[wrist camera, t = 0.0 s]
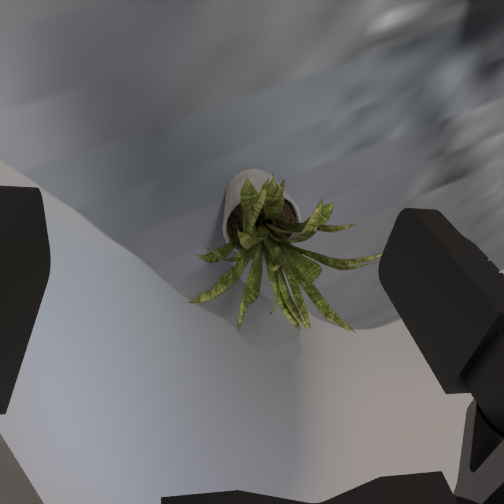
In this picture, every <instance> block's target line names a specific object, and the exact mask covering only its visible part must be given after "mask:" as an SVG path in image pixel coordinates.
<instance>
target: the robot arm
mask: <svg viewBox="0 0 504 504" xmlns="http://www.w3.org/2000/svg"><path fill="white" fill-rule="evenodd" d="M50 260H51V259H50V246H49V240H48V233H47V227H46V220H45V213H44V206H43V200H42V195H41V192H40V190H39V188H34V187H16V186H15V187H14V186H0V414H6V411H7V408H8V405H9V402H10V399H11V396H12V392H13V389H14V386H15V383H16V380H17V377H18V374H19V370H20V367H21V364H22V361H23V358H24V354H25V352H26V348H27V345H28V342H29V339H30V336H31V333H32V329H33V326H34V323H35V320H36V317H37V314H38V311H39V307H40V304H41V301H42V298H43V295H44V291H45V289H46V285H47V282H48V279H49V274H50V263H51V262H50ZM379 279H380V282H381V284H382V286H383V288H384V290H385V291H386V293H387V295H388V296H389V298H390V300H391V302H392V303H393V305H394V307H395V308H396V310H397V312H398V313H399V315H400V317H401V319H402V320H403V322H404V323H405V325H406V327H407V329H408V330H409V332H410V334H411V335H412V337H413V339H414V340H415V342H416V344H417V346H418V347H419V349H420V351H421V352H422V354H423V356H424V357H425V359H426V361H427V363H428V364H429V366H430V368H431V369H432V371H433V373H434V374H435V376H436V378H437V380H438V381H439V383H440V385H441V386H442V388H443V390H444V391H445V393H446V394H456V393H471V394H472V396H473V397H474V399H473V401H472V402H471V403H470V405H469V406H468V408H467V412H466V419H465V427H464V435H463V443H462V450H461V458H460V466H459V473H458V480H457V484H456V488H455V490H454V493H452V491H451V489H450V487H449V485H448V483H447V481H446V479H445V477H444V475H443V473H442V472H441V471H439V472H428V473H418V474H408V475H396V476H386V477H379V478H377V479H374V480H372V481H370V482H367V483H365V484H363V485H361V486H358V487H356V488H354V489H352V490H349V491H347V492H345V493H342V494H340V495H338V496H335V497H333V498H331V499H329V500H326V501H324V502H321V503H306V502H300V501H295V500H289V499H283V498H278V497H273V496H267V495H262V494H256V493H250V492H245V491H239V490H235V491H224V492H214V493H203V494H192V495H181V496H171V497H162V498H161V504H504V274H503V273H499V269H498V268H497V267H496V266H495V265H494V264H493V263H492V262H491V261H488V257H487V256H486V255H485V254H484V253H483V252H482V251H481V250H480V249H479V248H478V247H477V246H476V245H475V244H474V243H473V242H471V241H470V240H468V239H467V238H465V237H464V236H462V235H461V234H460V233H459V232H458V231H457V230H456V228H455V227H454V226H453V225H452V224H451V223H450V222H449V221H448V220H447V219H446V218H445V217H444V216H443V215H442V213H441V212H439V211H438V210H434V209H416V208H405V209H403V210H402V211H401V212H400V213H399V215H398V217H397V219H396V222H395V224H394V227H393V229H392V232H391V234H390V237H389V239H388V241H387V244H386V246H385V249H384V251H383V254H382V256H381V259H380V262H379ZM0 504H44V503H43V502H42V500H41V499H40V497H39V496H38V494H37V492H36V491H35V489H34V487H33V486H32V484H31V482H30V481H29V479H28V478H27V476H26V474H25V473H24V471H23V470H22V468H21V466H20V465H19V463H18V461H17V460H16V458H15V457H14V455H13V453H12V452H11V450H10V449H9V447H8V445H7V444H6V442H5V440H4V439H3V437H2V436H1V434H0Z"/></svg>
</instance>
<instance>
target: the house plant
mask: <svg viewBox="0 0 504 504" xmlns="http://www.w3.org/2000/svg"><path fill="white" fill-rule="evenodd" d="M284 188H285V183H284V181H283V182H282V184H281V185H280V184H279V183H278V182H277V181H276V180H275V179H274V176H273V174H272V175H271V174H269V173H268V172H267V171H264V170H262V169H256V168H252V169H246V170H243V171H240V172H239V173H237V174H236V175H235V176H234V177H233V178H232V179H231V180H230V181H229V183H228V185H227V189H226V196H225V207H224V218H223V236H224V238H225V240H226V243H227V244H226V245H224V246H222V247H220V248H218V249H216V250H214V251H213V250H211V249H208V248H206V247H205V248H206V249H208V250H209V251H211V252H210V253H208V254H207V255H201V256H199V255H197V256H199V257H200V258H201V259H203V260H204V261H206V262H210V263H213V262H217V261H219V260H221V259H223V260H225V261H230V262H235V261H238V262H237V264H236V265H235V266H234V267H232V268H231V269H230V270H229V271H228V272H226V273H225V274H224V275H222V276H221V277H220V279H219V280H218V281H217V283H216V284H215V285H214V286H213V287H212V288H211V289H210V290H208V291H207V292H205V293H203V294H201V295H199V296H198V297H197V298H195V299H194V300H193V301H191V302H189V303H199V302H205V301H208V300H211V299H213V298H215V297H217V296H219V295H220V294H221V293H223V292H224V291H225V290H227V289H228V288H229V287H230V286H232V285H233V284H234V283H235V282H236V281H237V280H238V279H239V278H240V276H241V274H242V272H243V270H244V268H245V267H246V265H247V264H248V262H249V261H250V259H251V258H253V262H252V265H251V269H250V273H249V277H248V281H247V284H246V287H245V289H244V293H243V296H242V300H241V305H240V312H239V320H238V330H239V328H240V326H241V324H242V320H243V317H244V315H245V313H246V310H247V308H248V305H249V304H252V303H253V302H254V301H255V300H256V298H257V297H258V294H259V291H260V285H261V277H262V258H266V264H267V270H268V275H269V278H270V282H271V284H272V287H273V290H274V293H275V296H276V303H277V302H278V304H279V306H280V308H281V309H282V311H283V313H284V314H285V315H286V317H287V318H288V319H289V321H290V322H291V323H292V324H293V325H295V326H296V327H297V328H298V329H299V330H300V327H299V323H300V324H301V325H303V326H304V327H305V328H307V329H308V327H307V325H308V326H309V328H310V320H309V316H308V312H307V308H306V305H305V302H304V299H303V296H302V292H301V289H300V286H299V284H300V285H301V287H302V288H303V289H304V291H305V292H306V293H307V295H308V296H309V297H310V299H311V300H312V301H313V303H314V304H315V305H316V307H317V308H318V309H319V310H320V311H321V313H322V314H323V315H324V316H325V317H326V318H328V319H329V320H331V321H332V322H334V323H336V324H338V325H340V326H341V327H343V328H344V329H346V330H349V331H353V332H355V331H354V330H353V329H352V328H351V327H350V326H349V325H348V324H347V323H345V322H344V321H343V320H342V319H341V318H340V317H339V316H338V315H337V314H336V313H335V312H334V311H333V310H332V308H331V307H330V306H329V305H328V304H327V303H326V301H325V300H324V298H323V297H322V295H321V294H320V293H319V291H318V290H317V289H316V287H315V286H314V285H313V284H312V282H314V281H315V280H316V279H317V278H318V276H319V275H320V273H321V271H322V270H321V267H320V265H319V264H317V263H316V262H314V261H312V260H310V259H308V258H306V257H304V256H303V255H302V254H304V255H306V256H308V257H310V258H312V259H314V260H316V261H318V262H320V263H323V264H325V265H327V266H329V267H332V268H335V269H339V270H350V269H356V268H360V267H362V266H364V265H359V266H350V265H356V264H360V263H363V262H367V261H370V260H373V259H376V258H377V257H379V256H381V255H382V254H378V255H374V256H369V257H364V258H357V259H337V258H331V257H327V256H324V255H321V254H318V253H315V252H311V251H307V250H304V249H301V248H298V247H295V246H293V245H292V244H293V243H295V242H301V241H305V240H307V239H309V238H311V237H312V236H313V235H314V234H315V233H316V230H319V231H324V232H336V231H340V230H344V229H348V228H350V227H352V226H354V225H356V224H351V225H342V226H331V225H323V224H324V223H326V222H327V221H328V219H329V218H330V216H331V213H332V209H333V202H334V200H333V202H332V203H331V204H328V205H325V206H323V207H322V200H323V199H324V198H323V199H322V200H321V201H320V202H319V204H318V206H317V207H316V209H315V211H314V212H313V214H312V215H311V217H309V218H308V219H307V220H306V221H305V222H304V223H302V216H301V212H300V209H299V208H298V206H297V205H296V203H295V202H294V201H293V199H292V198H291V197H290V196H289V195H288V194H287V192H286V191H285V190H284ZM299 232H301V233H300V234H299ZM232 250H233V251H235V252H236V253H238V254H237V255H235V256H234V257H233V258H230V259H228V258H226V257H225V256H227V255H228V254H229V253H230V252H231V251H232ZM338 265H341V266H338ZM365 265H367V264H365ZM281 267H282V269H283V271H284V273H285V275H286V277H287V279H288V282H289V285H290V287H291V290H292V293H293V296H294V299H295V302H296V304H297V306H296V305H295V303H294V301H293V299H292V297H291V295H290V293H289V290H288V287H287V284H286V281H285V278H284V275H283V272H282V269H281ZM298 283H299V284H298ZM276 303H275V305H274V307H273V309H272V311H271V313H272V312H273V310H274V309H275V306H276ZM297 307H298V308H297ZM298 309H299V310H298ZM299 311H300V312H299ZM271 313H270V314H271ZM300 313H301V314H302V316H303V317H304V320H305V322H306V323H305V322H304V321H303V319H302V318H301V315H300ZM298 322H299V323H298ZM306 324H307V325H306ZM300 331H301V330H300Z"/></svg>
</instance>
